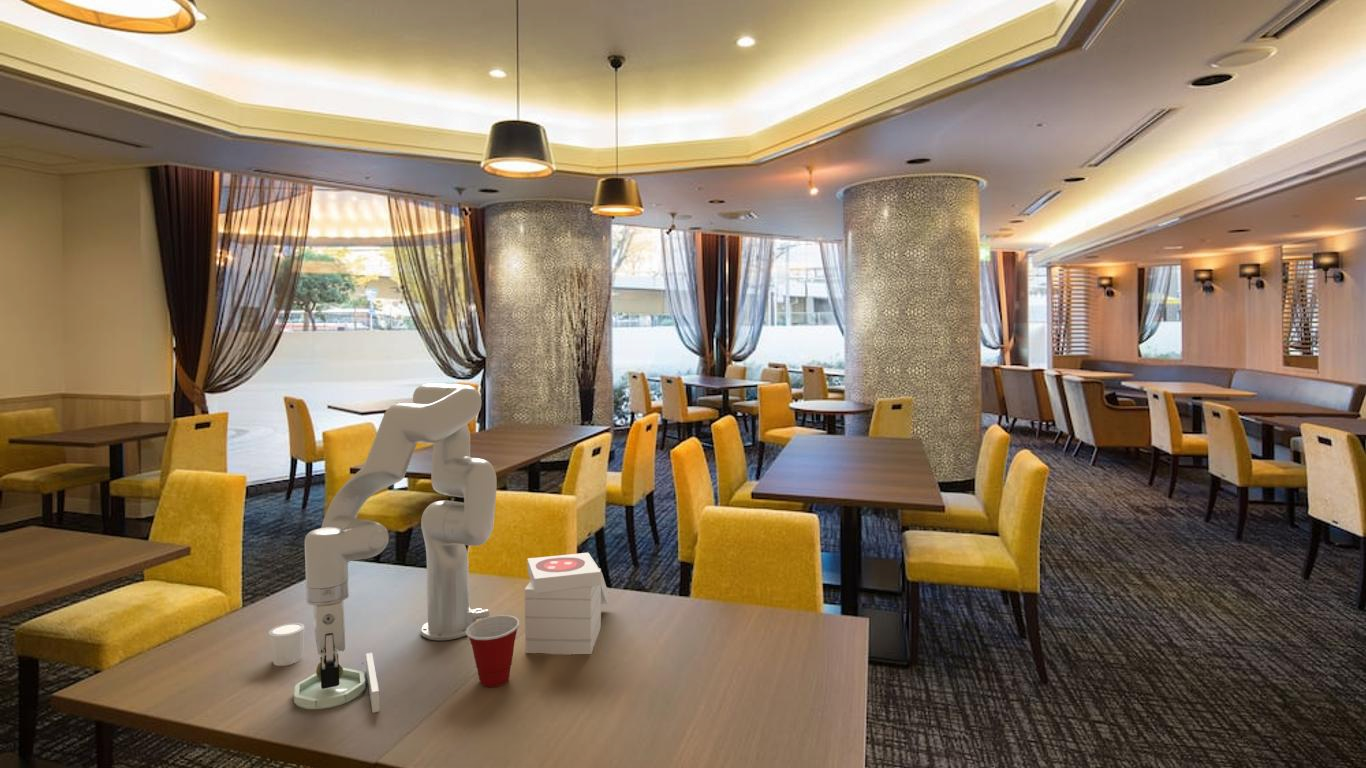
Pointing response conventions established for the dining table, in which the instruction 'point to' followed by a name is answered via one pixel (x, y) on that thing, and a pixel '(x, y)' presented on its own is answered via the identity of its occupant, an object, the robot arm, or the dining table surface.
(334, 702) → the dish
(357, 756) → the dining table surface
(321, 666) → the lime
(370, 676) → the fence
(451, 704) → the dining table surface
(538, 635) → the pizza boxes
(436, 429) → the robot arm
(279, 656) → the white cylinder
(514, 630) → the plastic cup
